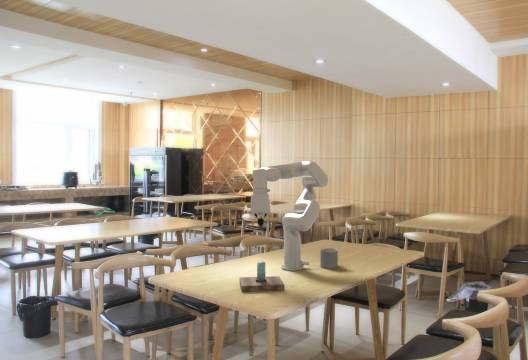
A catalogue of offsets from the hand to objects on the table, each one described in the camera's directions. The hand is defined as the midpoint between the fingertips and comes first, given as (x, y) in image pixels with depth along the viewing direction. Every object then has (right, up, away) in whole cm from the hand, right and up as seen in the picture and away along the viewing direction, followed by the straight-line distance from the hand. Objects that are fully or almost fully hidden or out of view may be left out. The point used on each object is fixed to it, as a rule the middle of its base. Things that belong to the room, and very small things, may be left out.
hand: (260, 225), depth 237 cm
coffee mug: (+41, -26, +23) cm, 54 cm away
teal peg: (0, -27, -21) cm, 34 cm away
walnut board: (0, -27, -21) cm, 34 cm away
